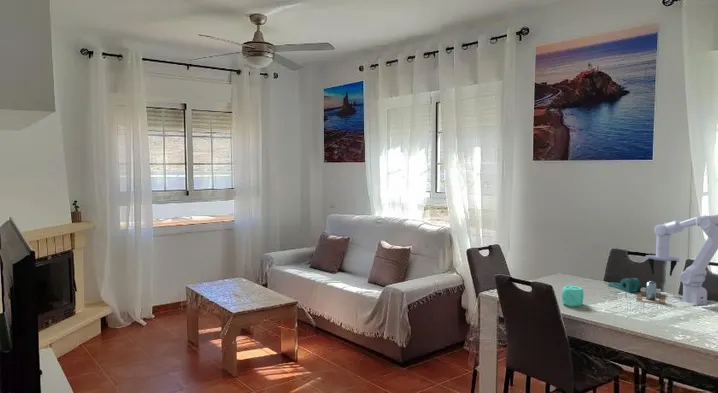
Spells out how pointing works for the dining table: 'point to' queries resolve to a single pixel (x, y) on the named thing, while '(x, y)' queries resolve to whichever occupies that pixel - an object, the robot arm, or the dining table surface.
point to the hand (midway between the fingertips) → (661, 274)
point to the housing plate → (642, 298)
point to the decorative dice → (572, 296)
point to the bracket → (628, 285)
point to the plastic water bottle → (651, 291)
